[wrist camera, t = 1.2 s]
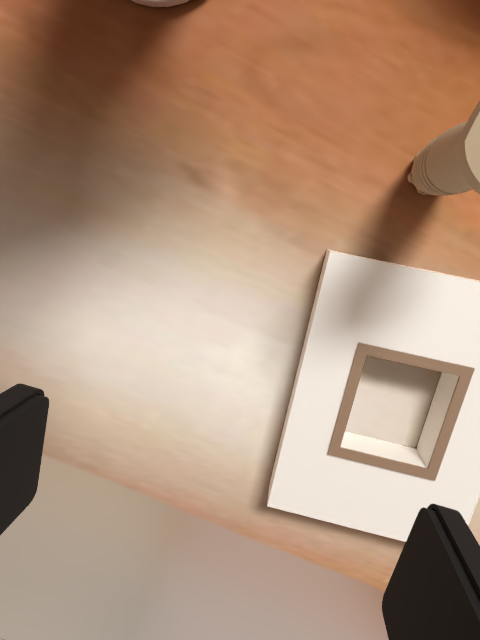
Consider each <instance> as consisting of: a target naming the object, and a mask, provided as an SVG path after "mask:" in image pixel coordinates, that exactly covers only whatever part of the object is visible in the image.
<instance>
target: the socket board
mask: <svg viewBox="0 0 480 640" xmlns="http://www.w3.org/2000/svg"><path fill="white" fill-rule="evenodd" d="M366 355H368V356H372V357H377V358H381V359H386V360H390V361H395V362H399V363H404V364H408V365H413V366H417V367H421V368H426V369H430V370H435V371H439V372H442V373H441V376H440V379H439V382H438V385H437V388H436V391H435V394H434V397H433V400H432V403H431V406H430V409H429V412H428V415H427V418H426V421H425V424H424V427H423V430H422V433H421V436H420V439H419V442H418V445H417V448H411V447H407V446H403V445H399V444H395V443H391V442H386V441H382V440H378V439H374V438H370V437H366V436H361V435H357V434H353V433H349V432H345V429H346V426H347V422H348V418H349V415H350V411H351V408H352V404H353V401H354V397H355V394H356V390H357V387H358V383H359V380H360V376H361V373H362V369H363V366H364V362H365V359H366ZM479 496H480V281H478V280H473V279H469V278H464V277H459V276H454V275H449V274H444V273H439V272H435V271H430V270H425V269H420V268H415V267H410V266H406V265H401V264H396V263H391V262H386V261H381V260H376V259H372V258H367V257H362V256H357V255H352V254H347V253H342V252H338V251H333V250H328V249H327V251H326V255H325V259H324V263H323V267H322V271H321V275H320V279H319V284H318V288H317V292H316V296H315V300H314V304H313V308H312V312H311V316H310V320H309V324H308V328H307V333H306V337H305V341H304V345H303V349H302V353H301V357H300V361H299V365H298V369H297V373H296V377H295V382H294V386H293V390H292V394H291V398H290V402H289V406H288V410H287V414H286V418H285V422H284V426H283V431H282V435H281V439H280V443H279V447H278V451H277V455H276V459H275V463H274V467H273V471H272V475H271V480H270V484H269V492H268V502H267V506H268V507H272V508H276V509H280V510H284V511H287V512H291V513H295V514H299V515H303V516H307V517H311V518H315V519H318V520H322V521H326V522H330V523H334V524H338V525H342V526H346V527H349V528H353V529H357V530H361V531H365V532H369V533H373V534H377V535H380V536H384V537H388V538H392V539H396V540H400V541H404V542H406V541H407V538H408V536H409V534H410V531H411V529H412V527H413V524H414V522H415V519H416V517H417V515H418V512H419V511H420V509H421V508H423V507H424V508H428V506H429V505H430V504H437V505H440V506H444V507H447V508H450V509H454V510H457V511H459V512H460V514H461V515H462V517H463V518H464V520H465V522H466V524H467V525H469V522H470V520H471V517H472V515H473V512H474V509H475V507H476V504H477V502H478V499H479Z"/></svg>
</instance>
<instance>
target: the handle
mask: <svg viewBox="0 0 480 640" xmlns="http://www.w3.org/2000/svg"><path fill="white" fill-rule="evenodd" d="M413 161H414V163H413V167H412V170H411V172H410V174H409V175H408V181H409V182H411V183H412V184H414V185H415V187H416V189H417V192H418V193H420V194H423V195H427V194H430V195H437V196H444V195H454V194H458V193H463V192H467V191H469V190H472V189H474V190H475V191H476V192H478V193H479V194H480V102H479V103H478V104H477V106H476V108H475V109H474V111H473V113H472V114H471V116H470V118H469V119H468V121H466V122H464V123H461V124H459V125H457V126H455V127H453V128H451V129H449V130H447V131H445V132H444V133H442V134H441V135H439V136H438V137H436V138H435V139H434V140H432V141H431V142H430V143H429V144H428V145H426V146H425V147H424V148H423V149H422V150H421V151H420V152H419V153H418V154H417V155H416V156H415V158H414V159H413Z"/></svg>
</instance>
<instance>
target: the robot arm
mask: <svg viewBox="0 0 480 640" xmlns="http://www.w3.org/2000/svg"><path fill="white" fill-rule="evenodd" d="M131 1H133V2H135V3H138V4H142V5H146V6H151V7H170V6H174V5H179V4H183V3H186V2H188V1H190V0H131ZM48 408H49V399H48V398H47V397H44V391H43V390H41V389H38V388H34V387H31V386H27V385H24V384H17V385H15V386H13V387H11V388H10V389H8V390H6V391H4V392H3V393H1V394H0V535H1V534H2V533H3V532H4V531H5V530H6V529H7V527H8V526H9V525H10V524H11V523H12V522H13V521H14V520H15V519H16V518H17V517H18V516H19V515H20V513H21V512H22V511H23V510H24V509H25V508H26V507H27V506H28V505H29V504H30V503H31V501H32V499H33V498H34V496H35V494H36V491H37V486H38V479H39V472H40V465H41V457H42V450H43V443H44V436H45V429H46V422H47V415H48ZM382 612H383V617H384V621H385V625H386V630H387V633H388V638H389V640H480V546H479V544H478V542H477V541H476V539H475V537H474V536H473V534H472V532H471V530H470V529H469V527H468V525H467V524H466V522H465V520H464V518H463V517H462V515H461V514H460V512H459V511H457V510H454V509H450V508H447V507H444V506H440V505H437V504H430V505H429V506H428V508H424V507H423V508H421V509H420V511H419V512H418V515H417V517H416V519H415V522H414V524H413V527H412V529H411V531H410V534H409V536H408V538H407V541H406V543H405V546H404V548H403V550H402V553H401V555H400V557H399V560H398V562H397V565H396V567H395V569H394V572H393V574H392V576H391V579H390V581H389V583H388V586H387V588H386V591H385V593H384V596H383V601H382ZM0 640H4V639H1V638H0Z"/></svg>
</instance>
